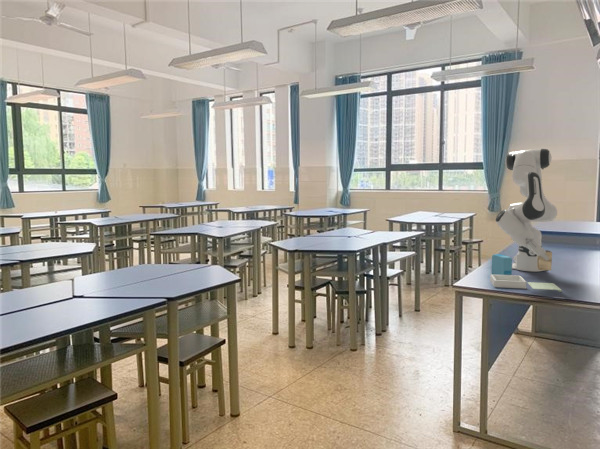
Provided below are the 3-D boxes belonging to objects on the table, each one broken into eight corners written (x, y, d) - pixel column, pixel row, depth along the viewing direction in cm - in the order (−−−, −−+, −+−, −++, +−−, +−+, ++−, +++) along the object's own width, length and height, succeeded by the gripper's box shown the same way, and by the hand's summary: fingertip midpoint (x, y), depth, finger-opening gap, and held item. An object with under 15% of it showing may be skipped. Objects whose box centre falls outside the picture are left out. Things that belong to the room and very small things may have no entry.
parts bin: (490, 282, 223) (490, 274, 223) (520, 283, 219) (520, 275, 219) (494, 288, 210) (494, 280, 209) (526, 290, 206) (526, 281, 205)
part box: (537, 268, 212) (537, 249, 211) (548, 268, 211) (549, 250, 210) (539, 269, 207) (540, 251, 206) (551, 270, 206) (552, 251, 205)
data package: (511, 280, 227) (512, 257, 226) (503, 280, 226) (504, 257, 225) (499, 275, 239) (499, 253, 237) (491, 275, 238) (491, 254, 237)
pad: (526, 283, 218) (526, 282, 218) (553, 284, 215) (553, 283, 215) (533, 290, 205) (533, 288, 205) (561, 291, 201) (561, 290, 201)
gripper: (534, 235, 199) (557, 257, 197) (525, 231, 219) (545, 250, 217) (523, 245, 201) (546, 266, 199) (515, 239, 221) (535, 259, 219)
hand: (545, 258), depth 208 cm, fingers closed on part box, 5 cm apart
